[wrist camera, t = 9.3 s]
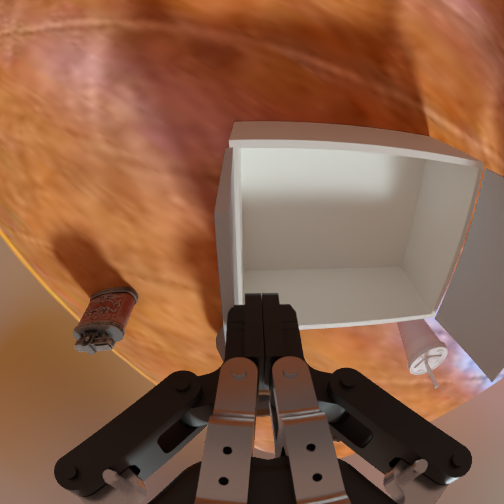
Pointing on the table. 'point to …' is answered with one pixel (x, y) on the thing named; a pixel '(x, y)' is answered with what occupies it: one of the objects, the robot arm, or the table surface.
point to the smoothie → (422, 347)
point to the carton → (349, 219)
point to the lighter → (105, 319)
